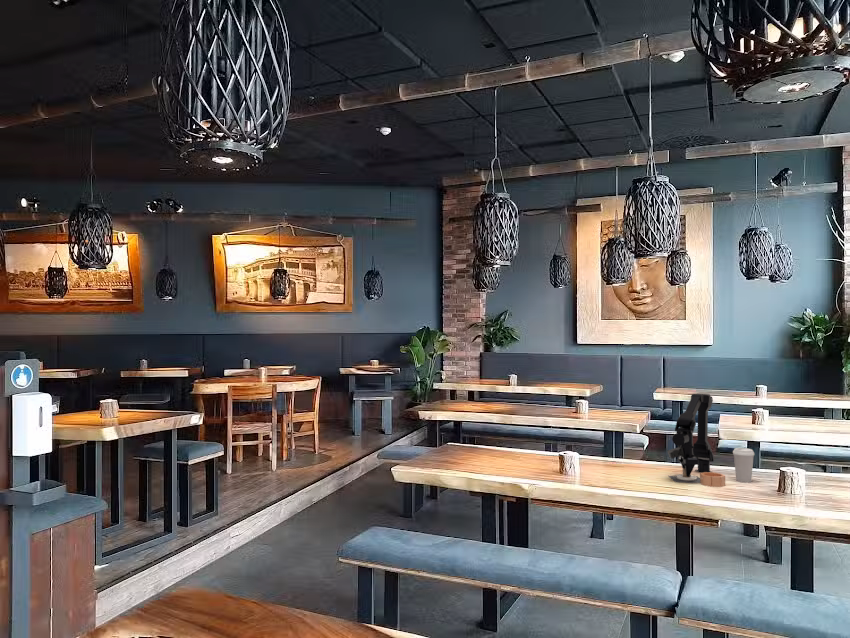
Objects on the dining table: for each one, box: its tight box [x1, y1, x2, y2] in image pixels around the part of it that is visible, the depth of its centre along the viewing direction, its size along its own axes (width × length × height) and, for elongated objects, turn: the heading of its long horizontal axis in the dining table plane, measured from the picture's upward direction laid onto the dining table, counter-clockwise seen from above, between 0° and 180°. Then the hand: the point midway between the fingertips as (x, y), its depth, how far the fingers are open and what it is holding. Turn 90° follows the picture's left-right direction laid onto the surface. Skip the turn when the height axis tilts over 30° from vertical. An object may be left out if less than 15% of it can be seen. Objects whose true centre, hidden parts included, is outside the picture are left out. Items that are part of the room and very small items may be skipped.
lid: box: [676, 467, 698, 481], centre depth 310 cm, size 9×9×5 cm
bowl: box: [699, 471, 726, 488], centre depth 300 cm, size 10×10×5 cm
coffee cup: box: [732, 447, 755, 483], centre depth 309 cm, size 10×10×15 cm
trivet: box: [667, 475, 701, 484], centre depth 310 cm, size 14×14×1 cm
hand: (686, 475), depth 310 cm, fingers closed on lid, 4 cm apart
